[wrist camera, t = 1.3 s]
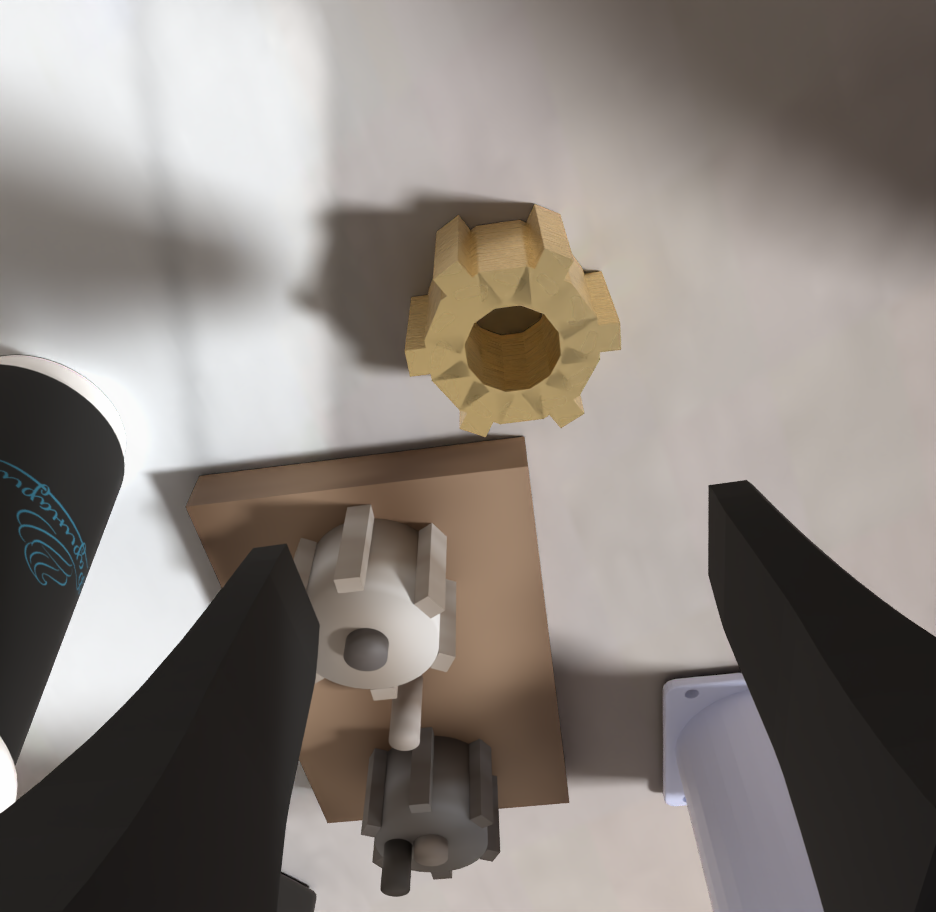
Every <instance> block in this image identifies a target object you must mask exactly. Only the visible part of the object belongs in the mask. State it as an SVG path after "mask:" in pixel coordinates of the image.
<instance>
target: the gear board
mask: <svg viewBox="0 0 936 912" xmlns="http://www.w3.org/2000/svg"><path fill="white" fill-rule="evenodd" d="M186 509H187V511H188V514H189V516H190V518H191V520H192V522H193V525H194V527H195V529H196V531H197V534H198V536H199V538H200V540H201V542H202V545H203V547H204V549H205V551H206V554H207V556H208V558H209V560H210V562H211V565H212V567H213V569H214V571H215V574H216V576H217V578H218V580H219V582H220V585H221V587H222V588H223V586H224V585H225V584H226V582H227V581H228V580H229V578H230V577H231V576H232V575H233V573H234V572H235V571H236V569H237V568H238V567H239V565H240V564H241V563H242V561H243V560H244V559H245V558H246V556H247V555H248V554H249V553H250V551H251V550H252V549H253V548H257V547H264V546H272V545H279V544H286V543H287V545H288V548H289V550H290V553H291V555H292V558H293V560H294V563H295V565H296V567H297V570H298V572H299V575H300V577H301V580H302V582H303V584H304V587H305V589H306V592H307V594H308V597H309V599H310V602H311V604H312V606H313V609H314V611H315V614H316V616H317V619H318V621H319V624H320V629H319V645H318V659H317V670H316V679H315V685H314V690H313V695H312V699H311V704H310V709H309V714H308V719H307V724H306V728H305V733H304V737H303V742H302V747H301V751H300V756H299V760H300V763H301V765H302V767H303V769H304V772H305V774H306V776H307V778H308V780H309V783H310V785H311V787H312V789H313V792H314V794H315V796H316V798H317V800H318V803H319V805H320V807H321V809H322V812H323V814H324V816H325V818H326V821H327V823H334V822H346V821H358V820H363V821H362V830H361V835H365V836H370V837H375V840H374V851H373V861H372V862H373V863H374V864H376V865H378V866H379V867H381V868H382V877H381V891H382V893H384V894H386V895H388V896H395V897H397V896H403V895H406V894H408V893H409V891H410V879H411V870H413V871H419V872H431V874H432V877H433V879H446V878H452V870H456V869H460V868H463V867H465V866H468V865H470V864H472V863H474V862H475V861H477V860H478V859H479V858H480V859H483V860H487V861H492V862H493V860H494V859H495V858H496V857H497V855H498V854H499V853H500V837H499V810H498V809H501V808H513V807H524V806H536V805H548V804H560V803H569V796H568V787H567V778H566V770H565V762H564V754H563V745H562V737H561V729H560V721H559V713H558V705H557V697H556V689H555V681H554V673H553V664H552V656H551V648H550V640H549V632H548V624H547V616H546V608H545V600H544V592H543V584H542V575H541V567H540V559H539V551H538V543H537V535H536V527H535V519H534V511H533V503H532V494H531V486H530V478H529V470H528V462H527V454H526V446H525V438H524V437H516V438H508V439H500V440H492V441H483V442H475V443H467V444H458V445H450V446H442V447H434V448H425V449H417V450H409V451H401V452H392V453H384V454H376V455H368V456H359V457H351V458H343V459H334V460H326V461H318V462H310V463H301V464H293V465H285V466H277V467H268V468H260V469H252V470H243V471H235V472H227V473H219V474H210V475H202V476H199V478H198V480H197V482H196V484H195V487H194V489H193V491H192V493H191V496H190V498H189V500H188V502H187V504H186Z"/></svg>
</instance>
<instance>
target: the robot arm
mask: <svg viewBox="0 0 936 912" xmlns="http://www.w3.org/2000/svg"><path fill="white" fill-rule="evenodd" d="M708 575H709V579H710V582H711V586H712V590H713V593H714V597H715V601H716V604H717V608H718V611H719V615H720V618H721V622H722V625H723V629H724V631H725V634H726V636H727V639H728V641H729V644H730V646H731V648H732V651H733V653H734V656H735V658H736V660H737V663H738V665H739V668H740V670H741V672H742V673H732V674H722V675H711V676H701V677H690V678H680V679H673V680H670V681H668V682H667V683H666V684H665V685H664V687H663V796H664V800H665V803H667V804H668V805H671V806H683V805H687V807H688V811H689V815H690V819H691V823H692V827H693V831H694V835H695V839H696V843H697V848H698V852H699V856H700V860H701V864H702V868H703V872H704V876H705V880H706V884H707V888H708V893H709V897H710V901H711V905H712V909H713V912H936V637H935V636H933V635H932V634H930V633H929V632H927V631H926V630H924V629H923V628H921V627H920V626H918V625H917V624H915V623H914V622H912V621H911V620H909V619H908V618H906V617H905V616H904V615H902V614H901V613H899V612H898V611H897V610H895V609H894V608H893V607H891V606H890V605H888V604H887V603H886V602H884V601H883V600H882V599H880V598H879V597H878V596H876V595H875V594H874V593H873V592H871V591H870V590H869V589H867V588H866V587H865V586H864V585H862V584H861V583H860V582H858V581H857V580H856V579H855V578H854V577H852V576H851V575H850V574H849V573H847V572H846V571H845V570H844V569H843V568H841V567H840V566H839V565H838V564H837V563H836V562H834V561H833V560H832V559H831V558H830V557H829V556H827V555H826V554H825V553H824V552H823V551H822V550H821V549H819V548H818V547H817V546H816V545H815V544H814V543H813V542H811V541H810V540H809V539H808V538H807V537H806V536H805V535H804V534H803V533H802V532H800V531H799V530H798V529H797V528H796V527H795V526H794V525H793V524H792V523H791V522H790V521H789V520H788V519H787V518H786V517H785V516H784V515H783V514H782V513H780V512H779V511H778V510H777V509H776V508H775V507H774V506H773V505H772V504H771V503H770V502H769V501H768V500H767V499H766V498H765V497H764V496H763V495H762V494H761V493H760V492H759V491H758V490H757V489H756V488H755V487H754V486H753V485H752V484H751V483H750V482H748V481H747V480H744V481H737V482H729V483H722V484H715V485H709V543H708ZM319 629H320V624H319V621H318V619H317V616H316V614H315V611H314V609H313V606H312V604H311V602H310V599H309V597H308V594H307V592H306V589H305V587H304V584H303V582H302V580H301V577H300V575H299V572H298V570H297V567H296V565H295V563H294V560H293V558H292V555H291V553H290V550H289V548H288V545H287V543H286V544H279V545H272V546H264V547H257V548H253V549H252V550H251V551H250V553H249V554H248V555H247V556H246V558H245V559H244V560H243V561H242V563H241V564H240V565H239V567H238V568H237V569H236V571H235V572H234V573H233V575H232V576H231V577H230V578H229V580H228V581H227V582H226V584H225V585H224V586H223V588H222V589H221V590H220V592H219V593H218V594H217V596H216V597H215V598H214V599H213V601H212V602H211V603H210V605H209V606H208V607H207V609H206V610H205V611H204V612H203V614H202V615H201V616H200V618H199V619H198V620H197V621H196V623H195V624H194V625H193V626H192V628H191V629H190V630H189V631H188V633H187V634H186V635H185V636H184V638H183V639H182V640H181V641H180V643H179V644H178V645H177V646H176V647H175V648H174V649H173V651H172V652H171V653H170V654H169V655H168V656H167V658H166V659H165V660H164V661H163V662H162V663H161V665H160V666H159V667H158V668H157V669H156V670H155V671H154V673H153V674H152V675H151V676H150V677H149V678H148V680H147V681H146V682H145V683H144V684H143V685H142V686H141V687H140V688H139V690H138V691H137V692H136V693H135V694H134V695H133V696H132V697H131V698H130V699H129V700H128V701H127V702H126V703H125V704H124V705H123V706H122V707H121V708H120V709H119V710H118V711H117V712H116V713H115V714H114V715H113V716H112V717H111V718H110V719H109V720H108V721H107V722H106V723H105V724H104V725H103V726H102V727H101V728H100V729H99V730H98V731H97V732H96V733H95V734H94V735H93V736H92V737H91V738H90V739H88V740H87V741H86V742H85V743H84V744H83V745H82V746H81V747H79V748H78V749H77V750H76V751H75V752H74V753H73V754H71V755H70V756H69V757H68V758H67V759H66V760H65V761H63V762H62V763H61V764H60V765H59V766H58V767H57V768H55V769H54V770H53V771H52V772H51V773H50V774H49V775H47V776H46V777H45V778H44V779H43V780H42V781H41V782H39V783H38V784H37V785H36V786H34V787H33V788H32V789H31V790H29V791H28V792H27V793H26V794H24V795H23V796H22V797H21V798H19V799H18V800H17V801H16V802H14V803H13V804H12V805H11V806H9V807H8V808H7V809H5V810H4V811H3V812H1V813H0V912H277V908H278V896H279V885H280V875H281V866H282V856H283V847H284V838H285V829H286V822H287V816H288V810H289V804H290V798H291V793H292V789H293V784H294V779H295V775H296V770H297V765H298V761H299V756H300V751H301V747H302V742H303V737H304V733H305V728H306V724H307V719H308V714H309V709H310V704H311V699H312V695H313V690H314V685H315V679H316V670H317V659H318V645H319Z"/></svg>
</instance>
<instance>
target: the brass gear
mask: <svg viewBox="0 0 936 912" xmlns="http://www.w3.org/2000/svg"><path fill="white" fill-rule="evenodd" d="M519 305H521V306H524V307H526V308H529V309H532V310H534V311H537V312H540V313H542V314H543V316H542V318H541V320H540V321H538V322H537V323H535V324H534V325H533V326H531V327H530V328H528V329H527V330H525V331H524V332H522V333H515V334H507V335H499V334H496V333H493V332H490V331H488V330H485V329H482V328H480V326H479V325H478V324H477V323H476V322H477V321H478V320H480V319H481V318H482V317H484V316H485V315H487V314H488V313H489V312H491V311H492V310H493V309H496V308H504V307H511V306H519ZM614 350H621V335H620V321H619V318H618V315H617V313H616V310H615V307H614V304H613V302H612V299H611V296H610V293H609V291H608V288H607V285H606V282H605V280H604V277H603V274H602V271H600V272H592V273H585V274H584V272H583V269H582V267H581V266H580V264H579V263H578V261H577V260H576V259H575V257H574V256H573V255H572V252H571V249H570V246H569V242H568V239H567V235H566V232H565V229H564V225H563V222H562V219H561V215H560V214H558V213H556V212H553V211H551V210H548V209H546V208H543V207H541V206H539V205H536V204H534V206H533V208H532V210H531V213H530V215H529V217H528V219H527V222H524V221H521V220H514V221H507V222H500V223H493V224H486V225H479V226H476V227H475V228H473V229H472V230H470V229H469V227H468V226H467V225H466V224H465V222H464V221H463V220H462V219H461V217H460V216H459V215H458V216H456V217H455V218H454V219H452V220H451V221H450V222H449V223H447V224H446V225H445V226H443V227H442V228H441V229H440V230H438V231H437V233H436V246H435V259H434V271H433V279H432V282H431V284H430V287H429V291H428V295H423V296H416V297H411V304H410V312H409V320H408V328H407V336H406V343H405V355H406V360H407V364H408V369H409V374H410V377H411V376H419V375H427V374H431V378H432V381H433V382H434V383H435V384H436V385H437V386H438V388H439V389H440V390H441V391H442V392H443V393H444V394H445V395H446V396H447V397H448V398H449V399H450V400H451V401H452V403H453V404H454V405H455V406H456V407H457V408H458V409H459V410H460V429H462V430H465V431H468V432H471V433H474V434H477V435H480V436H483V437H486V435H487V433H488V431H489V429H490V427H491V425H492V423H493V422H496V423H499V424H505V423H513V422H521V421H529V420H538V419H544V418H545V417H547V416H548V415H550V416H551V417H552V418H553V420H554V421H555V422H556V423H557V424H558V425H559V427H560V428H562V427H564V426H565V425H567V424H568V423H570V422H572V421H573V420H575V419H576V418H578V417H580V416H581V415H583V414H584V409H583V405H582V401H581V396H580V394H581V392H582V390H583V389H584V387H585V385H586V383H587V381H588V380H589V378H590V376H591V374H592V373H593V371H594V369H595V367H596V365H597V364H598V362H599V360H600V352H606V351H614Z"/></svg>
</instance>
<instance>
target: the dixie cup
mask: <svg viewBox="0 0 936 912" xmlns="http://www.w3.org/2000/svg"><path fill="white" fill-rule="evenodd" d="M125 449H126V436H125V431H124V427H123V424H122V421H121V419H120V416H119V414H118V413H117V411H116V409H115V408H114V406H113V405H112V403H111V402H110V401H109V399H108V398H107V397H106V396H105V395H104V394H103V393H102V392H101V391H100V390H99V389H98V388H97V387H96V386H95V385H94V384H93V383H91V382H90V381H89V380H87V379H86V378H85V377H83V376H82V375H80V374H78V373H77V372H75V371H73V370H71V369H69V368H67V367H65V366H63V365H61V364H58V363H56V362H53V361H50V360H46V359H42V358H38V357H32V356H24V355H8V356H1V357H0V813H1V812H3V811H4V810H5V809H7V808H8V807H9V806H11V805H12V804H13V803H14V802H15V801H16V796H17V786H18V783H17V773H16V769H15V765H16V763H17V760H18V757H19V755H20V752H21V749H22V747H23V744H24V741H25V739H26V736H27V733H28V731H29V728H30V725H31V723H32V720H33V718H34V715H35V712H36V710H37V707H38V704H39V702H40V699H41V696H42V694H43V691H44V688H45V686H46V683H47V681H48V678H49V675H50V673H51V670H52V667H53V665H54V662H55V659H56V657H57V654H58V651H59V649H60V646H61V643H62V641H63V638H64V636H65V633H66V630H67V628H68V625H69V622H70V620H71V617H72V614H73V612H74V609H75V606H76V604H77V601H78V599H79V596H80V593H81V591H82V588H83V585H84V583H85V580H86V577H87V575H88V572H89V569H90V567H91V564H92V561H93V559H94V556H95V554H96V551H97V548H98V546H99V543H100V540H101V538H102V535H103V532H104V530H105V527H106V524H107V522H108V519H109V517H110V514H111V511H112V509H113V506H114V503H115V501H116V498H117V495H118V493H119V490H120V487H121V484H122V481H123V477H124V455H125Z"/></svg>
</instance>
